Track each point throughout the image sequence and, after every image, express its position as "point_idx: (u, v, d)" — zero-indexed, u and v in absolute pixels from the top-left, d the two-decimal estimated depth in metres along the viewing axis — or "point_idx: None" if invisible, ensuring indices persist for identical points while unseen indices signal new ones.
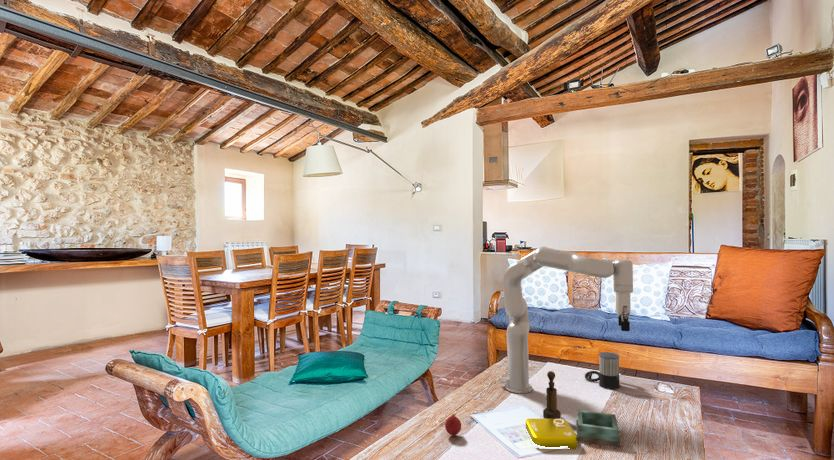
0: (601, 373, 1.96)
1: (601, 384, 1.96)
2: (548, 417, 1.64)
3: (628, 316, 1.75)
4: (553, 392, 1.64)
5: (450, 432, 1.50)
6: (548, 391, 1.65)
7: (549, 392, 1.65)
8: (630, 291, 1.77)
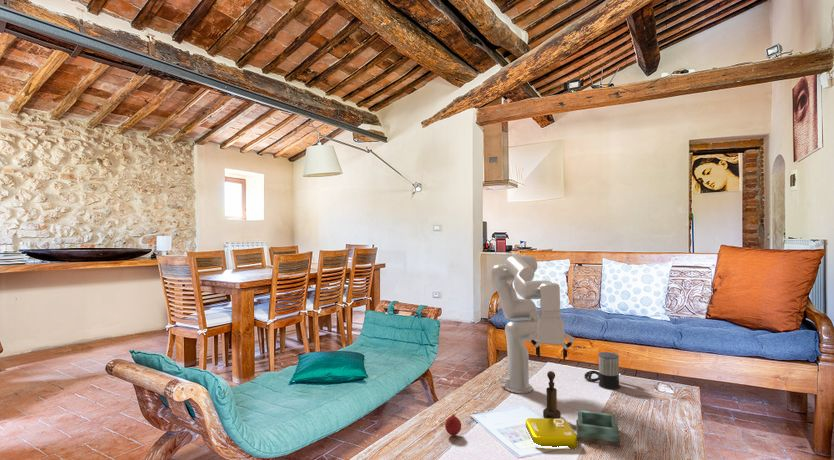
0: (601, 373, 1.97)
1: (601, 384, 1.97)
2: (548, 417, 1.64)
3: (564, 342, 1.65)
4: (553, 392, 1.64)
5: (450, 432, 1.50)
6: (548, 391, 1.65)
7: (549, 392, 1.65)
8: None
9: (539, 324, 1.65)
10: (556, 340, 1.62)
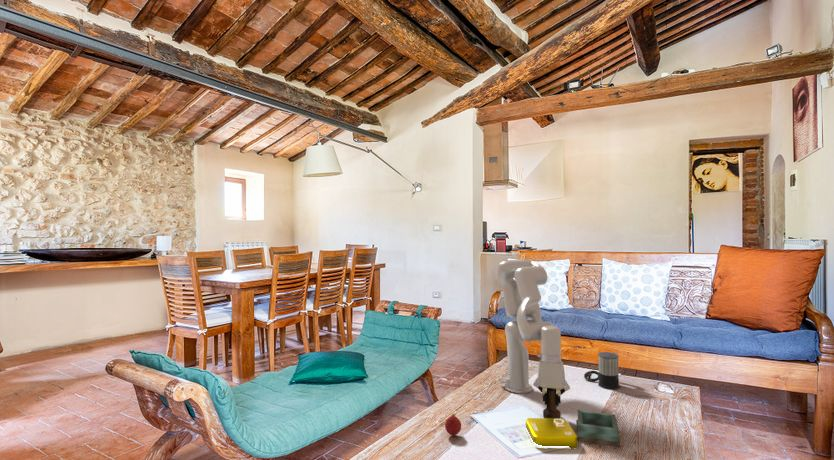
0: (600, 373, 1.97)
1: (600, 384, 1.97)
2: (548, 417, 1.64)
3: None
4: (553, 392, 1.64)
5: (450, 432, 1.50)
6: (548, 391, 1.65)
7: (549, 392, 1.65)
8: None
9: (540, 368, 1.65)
10: (556, 384, 1.63)
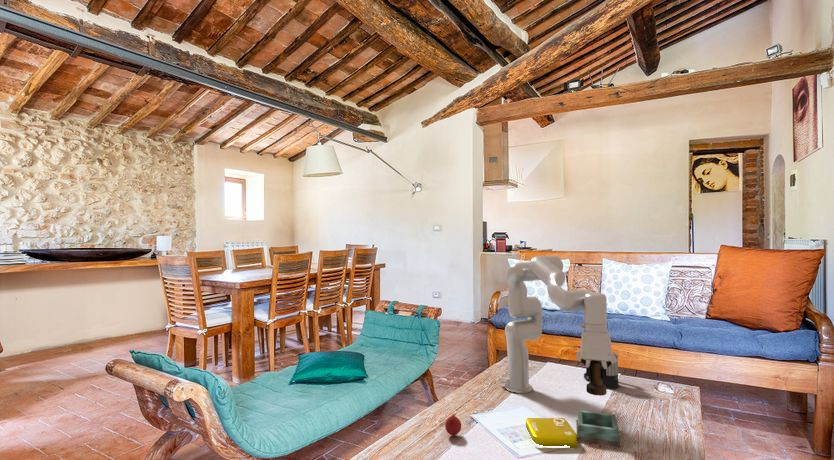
0: None
1: None
2: (592, 392, 1.49)
3: None
4: (598, 365, 1.49)
5: (450, 432, 1.50)
6: (592, 364, 1.50)
7: (594, 365, 1.50)
8: None
9: (583, 338, 1.50)
10: (602, 356, 1.48)
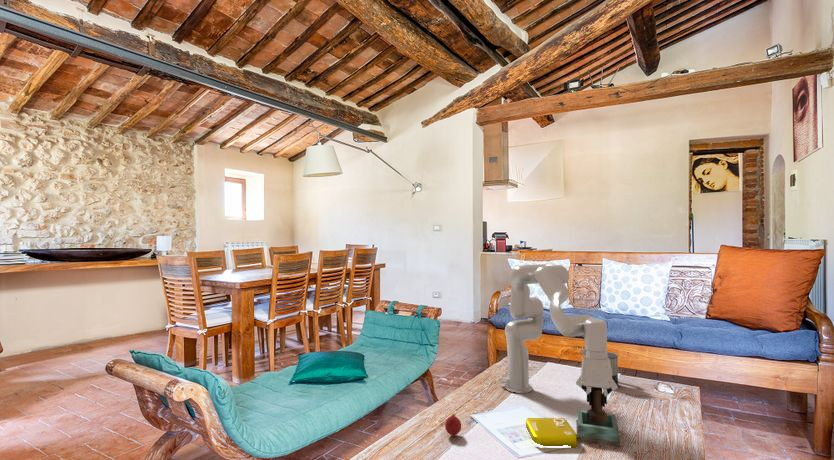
0: None
1: None
2: (593, 419, 1.49)
3: None
4: (599, 391, 1.49)
5: (450, 432, 1.50)
6: (593, 390, 1.50)
7: (594, 392, 1.50)
8: None
9: (584, 365, 1.50)
10: (603, 383, 1.48)
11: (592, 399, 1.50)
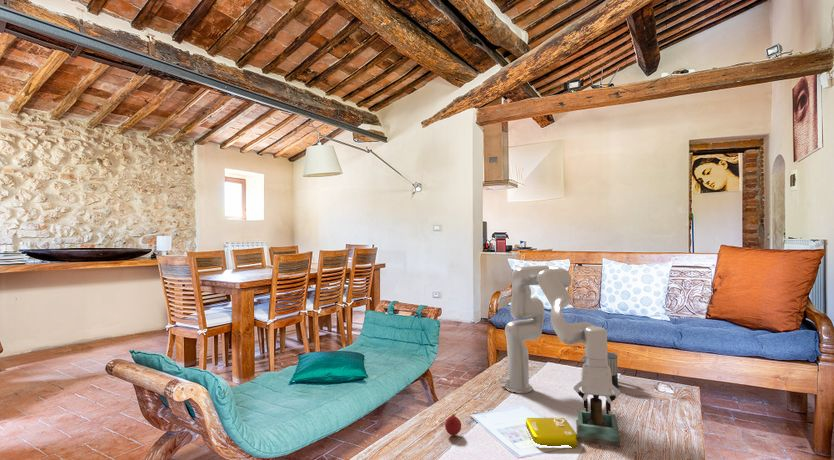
0: None
1: None
2: None
3: None
4: (598, 403, 1.49)
5: (450, 432, 1.50)
6: (593, 402, 1.50)
7: (594, 403, 1.49)
8: None
9: (584, 373, 1.50)
10: (603, 391, 1.48)
11: (592, 411, 1.50)
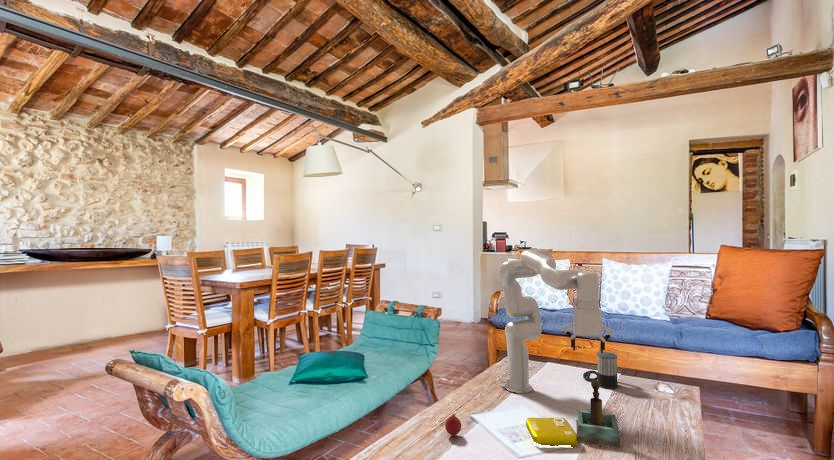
0: (599, 373, 1.97)
1: None
2: None
3: None
4: (598, 403, 1.49)
5: (450, 432, 1.50)
6: (593, 402, 1.50)
7: (594, 403, 1.50)
8: None
9: (576, 315, 1.56)
10: (594, 332, 1.54)
11: (592, 411, 1.51)
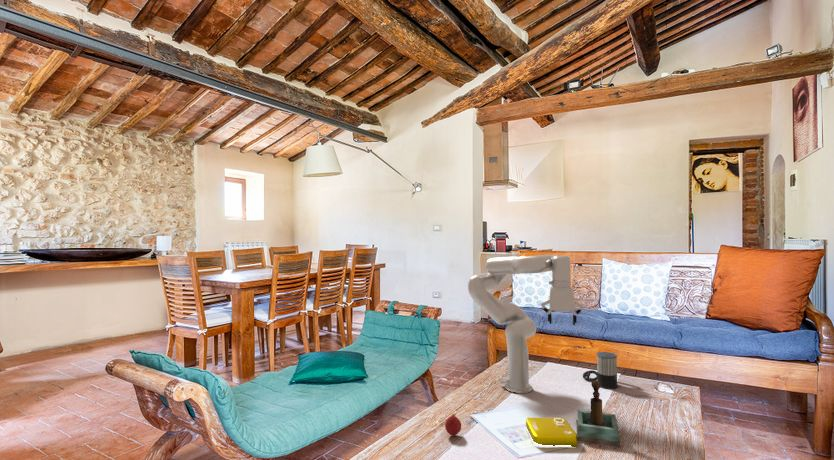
0: (599, 373, 1.97)
1: None
2: None
3: None
4: (599, 403, 1.49)
5: (450, 432, 1.50)
6: (593, 402, 1.50)
7: (594, 403, 1.50)
8: None
9: (551, 293, 1.81)
10: (567, 307, 1.78)
11: (592, 411, 1.51)
